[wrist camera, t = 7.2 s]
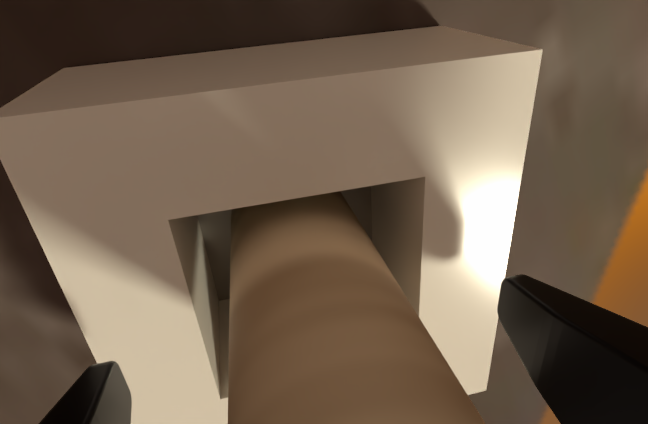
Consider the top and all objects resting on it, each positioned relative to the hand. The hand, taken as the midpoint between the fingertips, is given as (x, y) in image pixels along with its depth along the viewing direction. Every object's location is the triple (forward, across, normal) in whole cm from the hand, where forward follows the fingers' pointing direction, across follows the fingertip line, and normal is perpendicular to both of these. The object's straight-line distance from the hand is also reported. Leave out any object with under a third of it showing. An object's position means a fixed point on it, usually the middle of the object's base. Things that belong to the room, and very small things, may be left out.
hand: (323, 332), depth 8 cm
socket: (+5, 0, 0) cm, 5 cm away
